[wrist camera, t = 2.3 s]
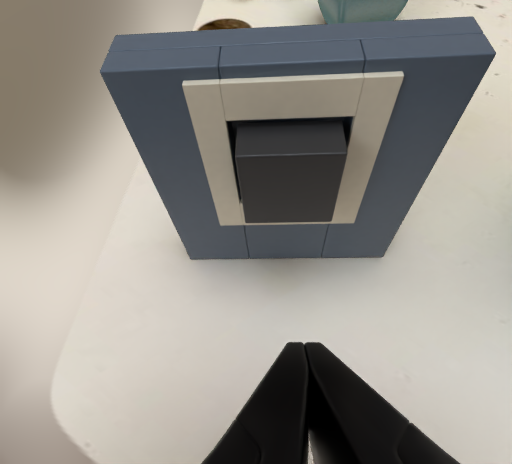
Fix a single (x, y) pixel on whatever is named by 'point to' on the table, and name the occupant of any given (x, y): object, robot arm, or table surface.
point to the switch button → (290, 170)
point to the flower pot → (360, 10)
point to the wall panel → (295, 109)
